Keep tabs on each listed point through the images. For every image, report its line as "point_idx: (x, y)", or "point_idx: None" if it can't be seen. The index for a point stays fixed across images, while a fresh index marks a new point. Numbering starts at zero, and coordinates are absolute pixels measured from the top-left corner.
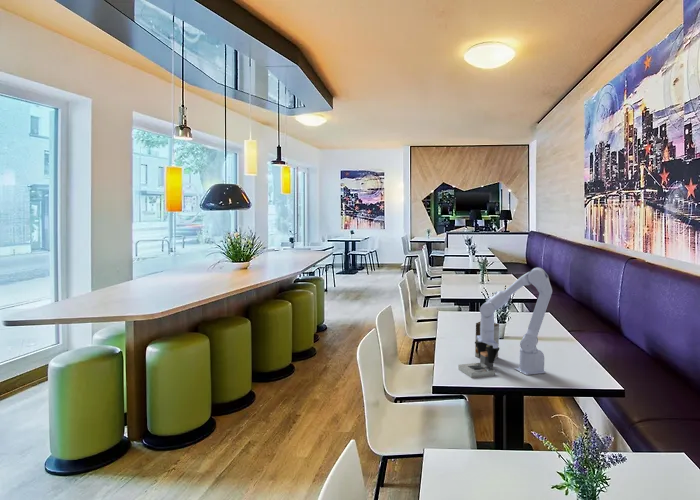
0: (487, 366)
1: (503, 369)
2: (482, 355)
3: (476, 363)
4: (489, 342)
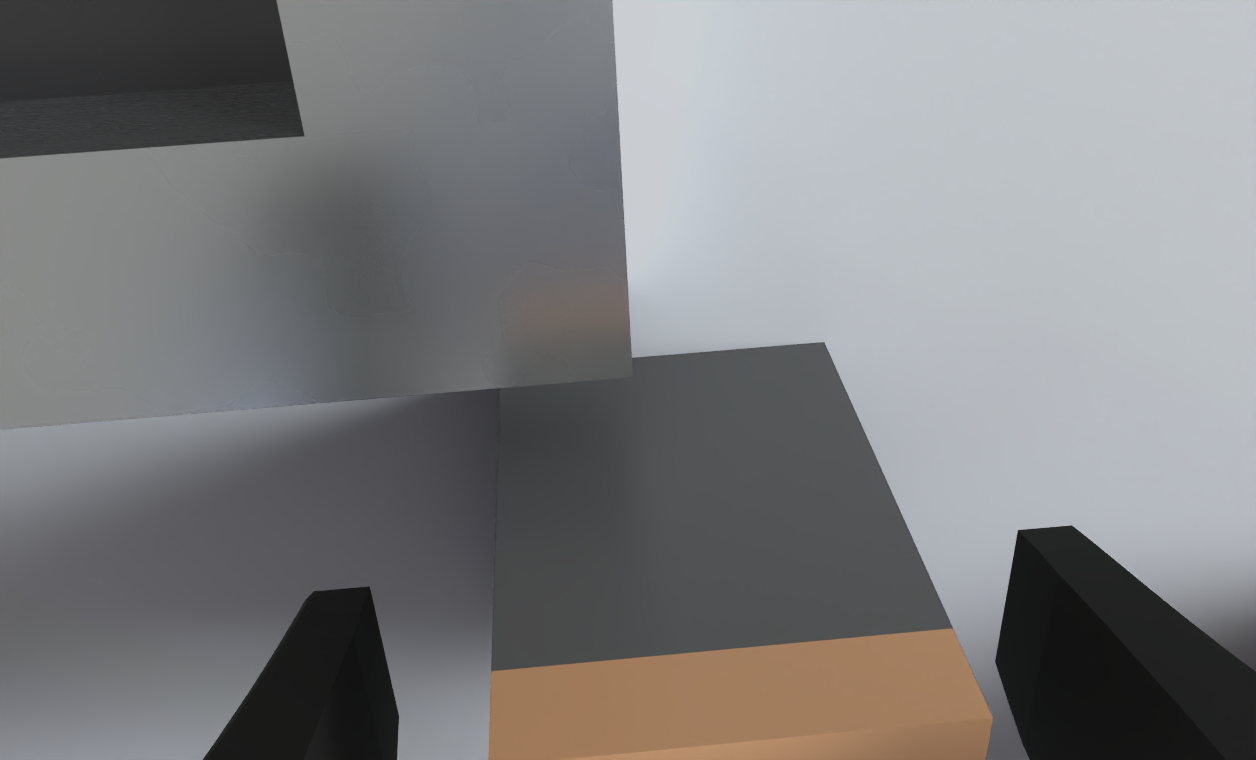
0: (78, 397)
1: None
2: (744, 638)
3: (550, 131)
4: None
